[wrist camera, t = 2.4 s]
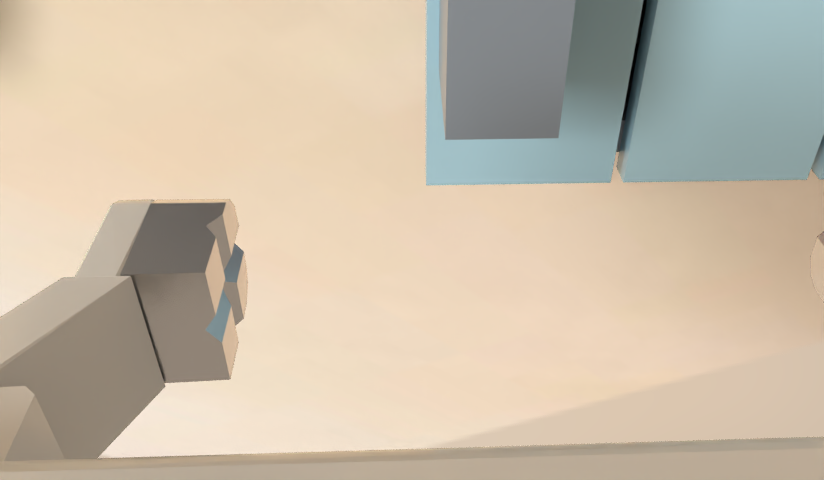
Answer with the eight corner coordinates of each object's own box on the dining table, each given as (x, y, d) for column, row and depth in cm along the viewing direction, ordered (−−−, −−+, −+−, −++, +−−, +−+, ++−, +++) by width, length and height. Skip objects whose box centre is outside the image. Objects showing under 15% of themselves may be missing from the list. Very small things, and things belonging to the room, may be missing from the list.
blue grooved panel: (1241, -317, 15) (1491, -307, 11) (985, 161, 22) (1094, 256, 18) (426, -306, 15) (433, -293, 11) (425, 169, 22) (430, 266, 18)
